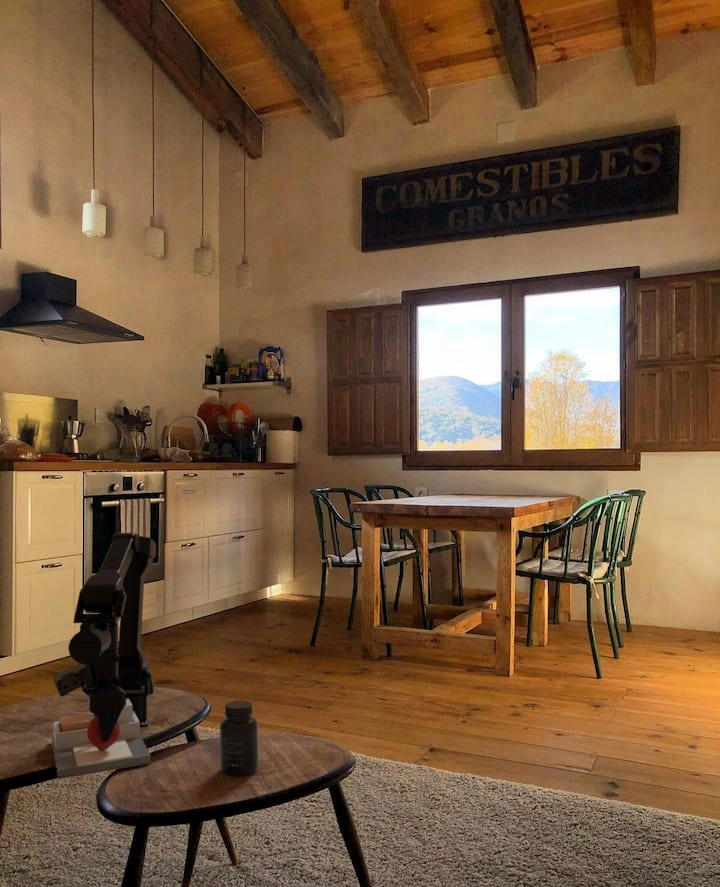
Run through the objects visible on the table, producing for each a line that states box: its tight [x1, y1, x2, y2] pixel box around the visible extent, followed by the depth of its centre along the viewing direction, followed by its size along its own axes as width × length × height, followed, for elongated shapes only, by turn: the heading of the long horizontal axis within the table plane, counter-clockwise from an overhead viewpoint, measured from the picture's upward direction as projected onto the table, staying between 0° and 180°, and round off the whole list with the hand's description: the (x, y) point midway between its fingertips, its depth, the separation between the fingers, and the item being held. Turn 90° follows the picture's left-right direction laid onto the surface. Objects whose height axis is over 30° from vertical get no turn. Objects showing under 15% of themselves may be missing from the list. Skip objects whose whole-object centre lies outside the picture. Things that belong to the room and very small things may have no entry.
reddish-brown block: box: [59, 713, 90, 732], centre depth 153 cm, size 5×5×4 cm
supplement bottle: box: [219, 699, 259, 778], centre depth 142 cm, size 7×7×12 cm
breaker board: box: [50, 711, 152, 780], centre depth 150 cm, size 16×19×4 cm
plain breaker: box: [118, 698, 132, 724], centre depth 156 cm, size 5×5×4 cm
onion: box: [87, 716, 120, 751], centre depth 146 cm, size 6×6×8 cm
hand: (102, 733), depth 146 cm, fingers open, 9 cm apart
